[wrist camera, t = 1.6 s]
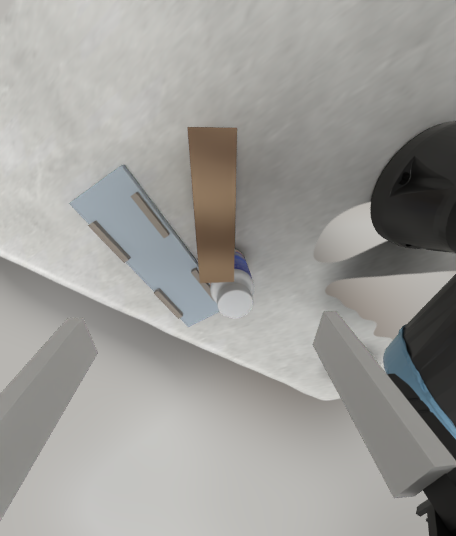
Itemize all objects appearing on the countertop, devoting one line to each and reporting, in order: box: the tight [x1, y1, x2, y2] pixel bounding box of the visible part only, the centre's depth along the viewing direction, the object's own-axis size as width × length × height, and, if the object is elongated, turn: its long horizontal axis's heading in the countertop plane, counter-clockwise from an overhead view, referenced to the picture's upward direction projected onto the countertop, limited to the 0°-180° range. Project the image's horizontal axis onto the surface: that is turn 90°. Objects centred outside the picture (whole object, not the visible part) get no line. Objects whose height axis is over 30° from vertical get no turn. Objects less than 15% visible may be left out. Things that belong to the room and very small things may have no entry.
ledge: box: [69, 165, 220, 327], centre depth 29 cm, size 8×24×2 cm, turn 30°
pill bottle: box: [210, 249, 254, 318], centre depth 26 cm, size 5×5×10 cm
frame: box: [188, 127, 237, 283], centre depth 21 cm, size 12×3×11 cm, turn 0°
